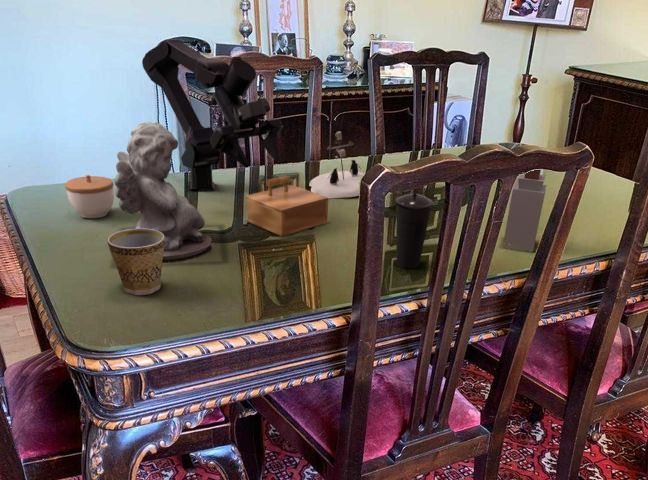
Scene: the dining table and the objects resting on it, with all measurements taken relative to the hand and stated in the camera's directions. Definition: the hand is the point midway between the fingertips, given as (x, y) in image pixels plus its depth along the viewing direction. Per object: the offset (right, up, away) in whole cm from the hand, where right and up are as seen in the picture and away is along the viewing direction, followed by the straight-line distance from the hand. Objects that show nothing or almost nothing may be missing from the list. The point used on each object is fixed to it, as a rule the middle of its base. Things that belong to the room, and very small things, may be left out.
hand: (263, 163), depth 154 cm
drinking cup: (+33, -27, -19) cm, 46 cm away
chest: (+6, -14, +1) cm, 15 cm away
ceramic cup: (-19, -33, -32) cm, 49 cm away
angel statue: (-18, -22, -14) cm, 32 cm away
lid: (+6, -9, -2) cm, 11 cm away
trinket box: (-41, -12, +1) cm, 43 cm away
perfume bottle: (+60, -21, -7) cm, 64 cm away
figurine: (+20, 0, +26) cm, 33 cm away
